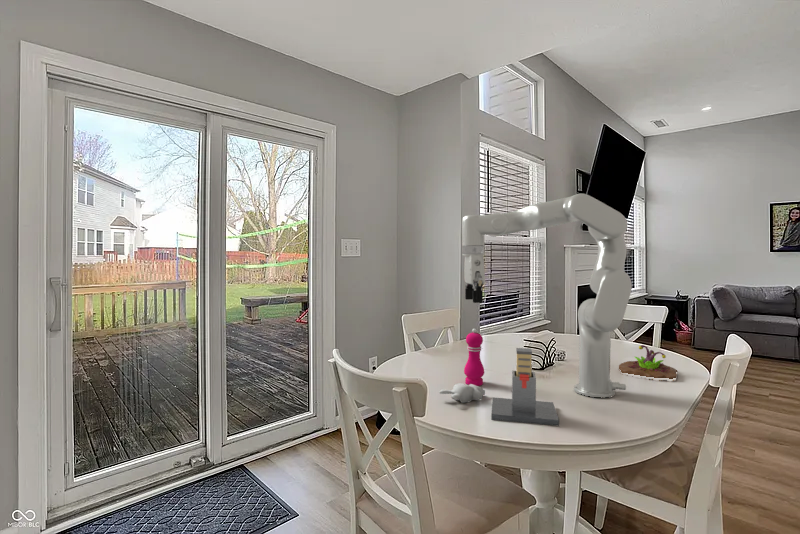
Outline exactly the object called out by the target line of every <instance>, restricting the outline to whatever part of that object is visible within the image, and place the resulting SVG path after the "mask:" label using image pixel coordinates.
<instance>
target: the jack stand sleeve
mask: <svg viewBox="0 0 800 534" xmlns="http://www.w3.org/2000/svg"><path fill="white" fill-rule="evenodd" d="M516 371H517V370H512V371H511V372H512V374H511V398H503V397H492V401H491V415H490V417H491V418H490V419H491V420H492V421H501V422H502V421H503V422H513V423H521V424H522V423H524V424H525V423H526V424H534V425H545V426H546V425H547V426H558V427H559V426H560V419H559V417H558V414H557V413H558V412H557V410H556V407H555V403H554V401H544V400H543V401H541V400H540V401H539V400H537V377H536V372H535V371H531V377H529V374H520V377H519V376H516Z"/></svg>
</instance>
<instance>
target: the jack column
mask: <svg viewBox="0 0 800 534" xmlns="http://www.w3.org/2000/svg"><path fill="white" fill-rule="evenodd" d="M515 348H516V351H515V352H516V370H515V371H516V376H519V377H520V374H529V377H531V372H532V355H533V351H532V348H524V347H515Z"/></svg>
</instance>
